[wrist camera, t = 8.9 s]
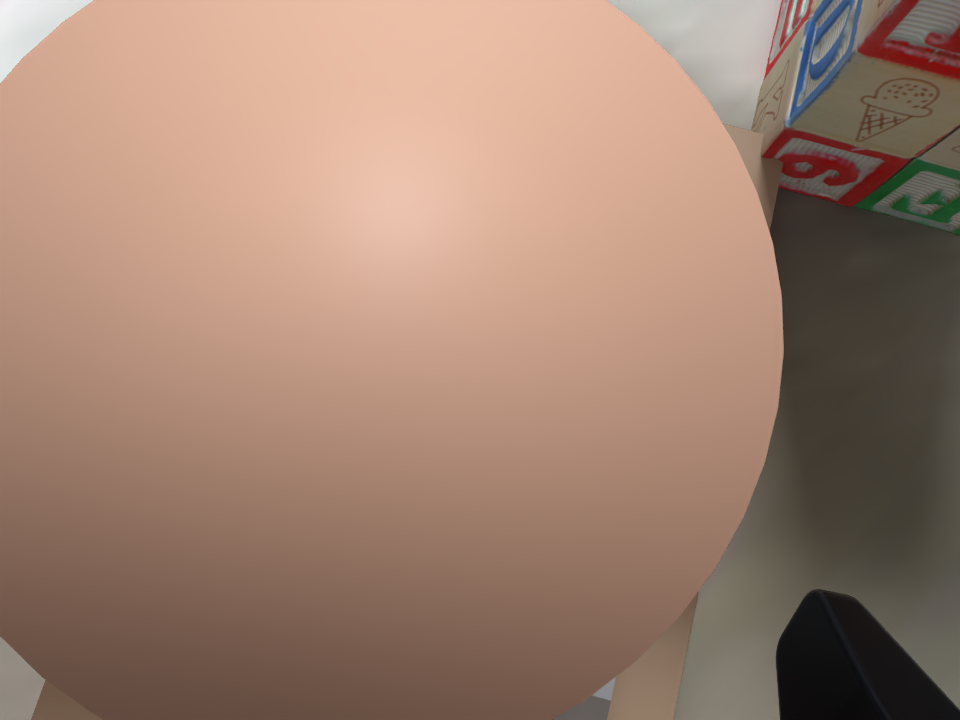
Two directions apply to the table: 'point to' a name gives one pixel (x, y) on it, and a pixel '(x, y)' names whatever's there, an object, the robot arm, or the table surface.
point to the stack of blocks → (867, 105)
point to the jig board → (658, 671)
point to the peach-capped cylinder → (368, 355)
